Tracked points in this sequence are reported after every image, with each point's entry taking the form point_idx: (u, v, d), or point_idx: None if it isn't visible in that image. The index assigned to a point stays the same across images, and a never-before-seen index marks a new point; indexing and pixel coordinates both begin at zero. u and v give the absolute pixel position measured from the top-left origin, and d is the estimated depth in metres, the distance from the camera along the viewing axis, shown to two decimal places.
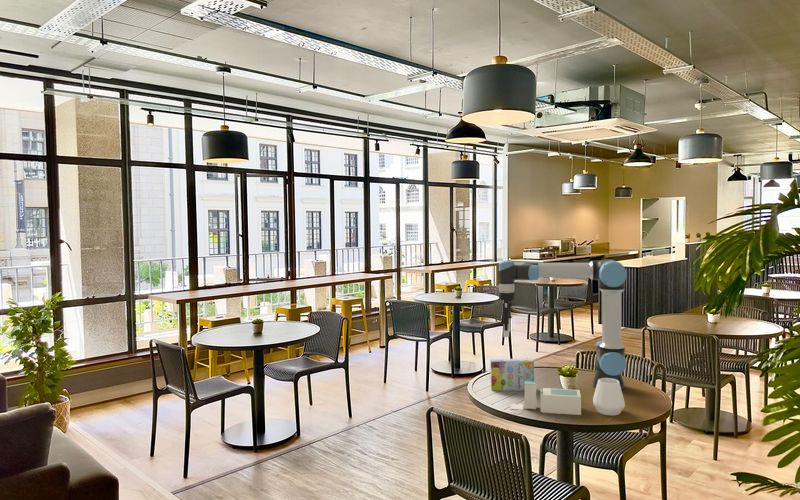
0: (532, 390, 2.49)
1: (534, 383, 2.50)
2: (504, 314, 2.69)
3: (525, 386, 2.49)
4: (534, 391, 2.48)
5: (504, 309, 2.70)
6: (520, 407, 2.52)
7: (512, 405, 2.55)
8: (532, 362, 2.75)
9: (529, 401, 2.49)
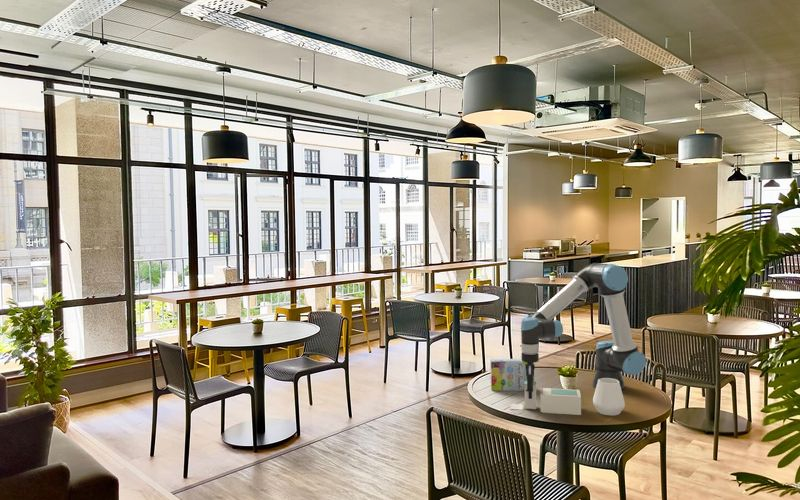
0: None
1: (534, 383, 2.50)
2: (528, 382, 2.45)
3: (525, 386, 2.49)
4: (534, 391, 2.48)
5: (528, 376, 2.45)
6: (520, 407, 2.52)
7: (512, 405, 2.55)
8: None
9: None
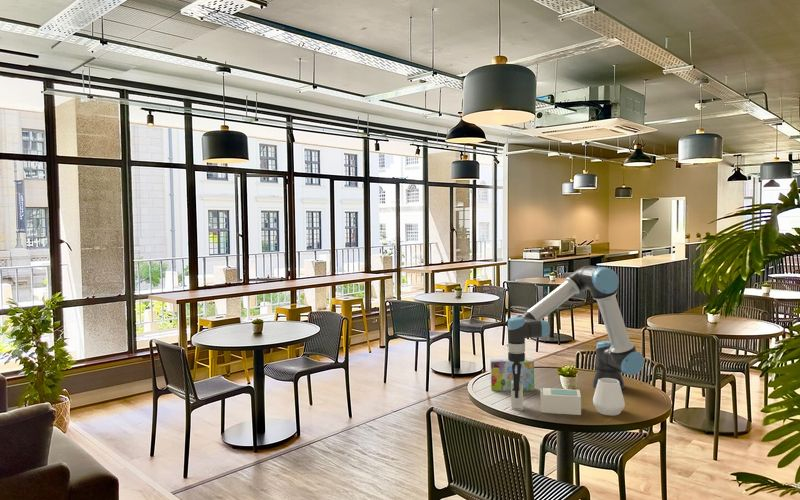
0: None
1: (521, 382, 2.51)
2: (514, 381, 2.47)
3: (512, 385, 2.51)
4: (520, 390, 2.50)
5: (514, 375, 2.46)
6: None
7: None
8: (532, 362, 2.75)
9: None
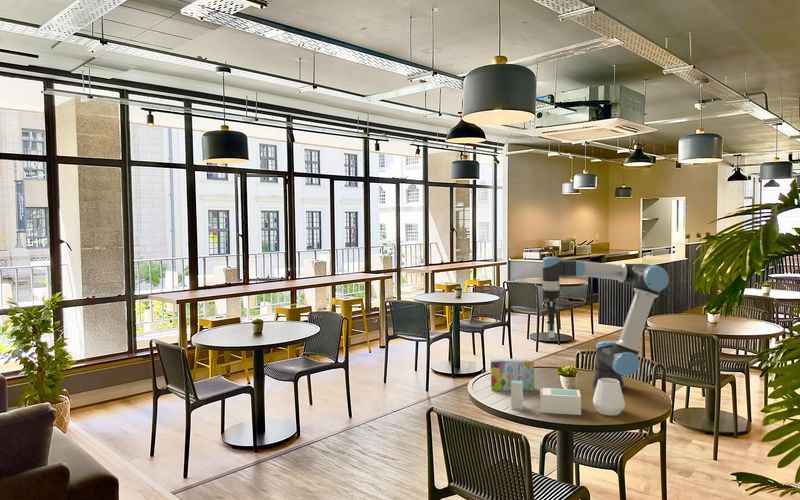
0: (518, 389, 2.50)
1: (520, 382, 2.51)
2: (549, 313, 2.54)
3: (511, 385, 2.51)
4: (520, 390, 2.50)
5: (549, 308, 2.55)
6: None
7: None
8: (532, 362, 2.75)
9: (516, 400, 2.51)
